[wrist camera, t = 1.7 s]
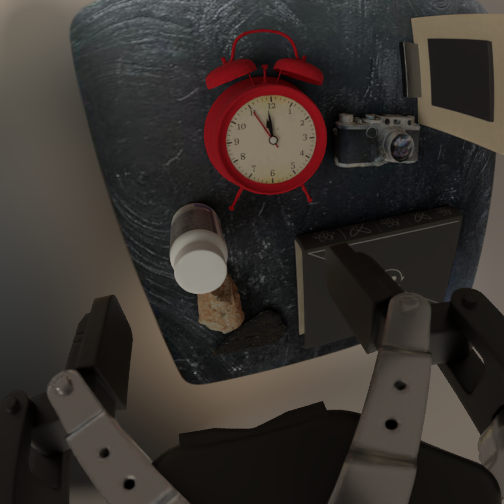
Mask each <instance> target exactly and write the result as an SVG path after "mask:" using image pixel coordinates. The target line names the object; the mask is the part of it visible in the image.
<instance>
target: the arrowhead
mask: <svg viewBox="0 0 504 504" xmlns="http://www.w3.org/2000/svg"><path fill="white" fill-rule="evenodd" d="M286 330H287V329H286V327H285V325H284V323H283V322H282V320H281V317H280V315H279V314H278V313H276V312H272V310H266V311H263V312H261V313H259V314H258V315H256V316H255V317H253V318H252V319H251V320H249V321H248V322H246V323H245V324H243V325H242V326H240V327H238V328H237V329H236V330H235V331H234V332H233V333H232V334H231V335H230V336H229V337H228V338H227V339H226V340H225V341H223V342H222V343H221V344H220V345H219V346H218V347H217V348H216V349H215V350H214V351H213V352H212V353H211V355H219V354H224V353H232V352H239V351H244V350H246V349H253V348H257V347H261V346H265V345H268V344H272V343H276V342H278V340H279V339H280V338H281V335H282V334H283V333H285V332H286Z"/></svg>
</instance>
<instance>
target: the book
mask: <svg viewBox="0 0 504 504" xmlns="http://www.w3.org/2000/svg"><path fill="white" fill-rule="evenodd" d="M462 219H463V215H462V214H461V213H460V212H459V211H458V210H457V209H456V208H454V207H452V206H444V207H439V208H434V209H429V210H424V211H419V212H414V213H409V214H404V215H399V216H394V217H389V218H384V219H379V220H374V221H368V222H363V223H358V224H353V225H349V226H344V227H339V228H334V229H329V230H324V231H319V232H314V233H309V234H304V235H299V236H295V239H294V243H295V260H296V278H297V298H298V321H299V334H300V335H301V334H305V348H306V349H309V348H313V347H317V346H320V345H324V344H327V343H331V342H334V341H338V340H341V339H344V338H348V337H351V336H354V335H355V334H354V332H353V331H352V329H351V328H350V326H349V324H348V323H347V321H346V320H345V318H344V316H343V315H342V313H341V312H340V310H339V309H338V307H337V306H336V304H335V302H334V301H333V299H332V298H331V296H330V294H329V292H328V289H327V284H326V259H325V250H326V247H327V246H331V245H335V244H339V243H343V242H346V243H347V244H348V245H349V246H350V247H351V248H352V249H353V250H354V251H355V252H356V253H357V252H363V253H365V254H367V255H369V256H371V257H372V258H373V259H374V260H375V261H376V262H377V263H378V264H379V266H381V267H382V268H383V269H384V270H385V272H387V273H388V274H389V275H390V276H391V278H392V279H393V280H394V281H395V282H396V283H397V284H398V285H399V286H400V287H401V288H402V289H403V290H404V292H410V293H416V294H419V295H421V296H423V297H424V298H426V299H427V300H428V301H429V303H430V304H432V303H443V300H444V296H445V293H446V289H447V285H448V282H449V278H450V274H451V270H452V266H453V262H454V258H455V253H456V249H457V244H458V240H459V235H460V230H461V224H462Z"/></svg>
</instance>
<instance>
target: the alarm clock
mask: <svg viewBox="0 0 504 504" xmlns="http://www.w3.org/2000/svg"><path fill="white" fill-rule="evenodd" d="M257 32H271V33H277V34H280V35H282V36H284V37H286V38H287V39H288V40H289V41H290V43H291V44H292V46H293V49H294V52H295V56H296V59H292V58H283V59H280V60H278V61H277V62H276V63H275V65H274V68H273V70H274V71H276V72H278V73H279V76H278V78H274V77H266V68H268V65H261V67H262V68H263V71H264V77H253V78H251V76H250V74H249V73H250V72H253V71H255V70H257V68H256V66H255V64H254V63H253V62H252V61H251V60H248V59H239V60H235V61H233V59H234V54H235V47H236V44H237V42H238V40H239V39H240V38H241V37H243V36H245V35H247V34H251V33H257ZM221 60H222V62H223V64H224V65H222V66H219V67H218V68H216V69H214V70H213V71H211V72H210V73H209V74H208V76H207V77H206V85H207V88H208V89H211V88H214V87H217V86H219V85H221V84H224V83H226V82H229V81H231V80H234V79H236V78H238V77H241V76H243V75H246V74H249V77H250V78H248V79H245V80H242V81H240V82H238V83H236V84H234V85H232V86H230V87H229V88H227V89H226V90H225V91H224V92H223V93H222V94H221V95H220V96H219V97H218V98H217V99H216V100H215V102H214V103H213V105H212V106H211V108H210V110H209V112H208V115H207V118H206V121H205V127H204V142H205V147H206V151H207V154H208V156H209V159H210V161H211V162H212V164H213V166H214V167H215V168H216V170H217V171H218V172H219V173H220V174H221V175H222V176H223V177H224V178H226V179H227V180H229V181H230V182H232V183H234V184H236V185H238V186H239V187H240V189H239V191H238V193H237V195H236V198H235V200H234V202H233V204H232V206H230V207H229V210H231V211H233V210H234V205H235V203H236V202H237V200H238V198H239V197H240V195H241V193H242V191H243V189H245V190H247V191H250V192H253V193H258V194H267V195H273V194H281V193H285V192H288V191H291V190H293V189H295V188H297V187H299V186H301V187H302V189H303V191H304V192H305V194H306V196H307V197H308V202H312V198H310V196H309V194H308V192H307V190H306V188H305V186H304V184H303V183H305V182H306V181H307V180H308V179H309V178H310V177H311V176H312V175H313V174H314V173H315V172H316V170H317V169H318V167H319V165H320V164H321V162H322V159H323V157H324V154H325V150H326V145H327V132H326V126H325V122H324V119H323V117H322V115H321V113H320V111H319V109H318V107H317V106H316V105H315V103H314V102H313V101H312V100H311V99H310V98H309V97H308V96H306V95H305V94H304V93H303V92H302V91H301V90H300V89H298V88H297V87H296V86H294V85H292V84H290V83H289V82H286V81H284V80H281V79H279V77H280V74H283V75H286V76H289V77H292V78H295V79H298V80H301V81H304V82H308V83H312V84H316V85H322V83H323V78H324V77H323V74H322V72H321V71H320V70H319V69H318V68H317V67H315V66H313V65H311V64H309V63H307V62H305V60H306V56H303V57H302V60H301V59H300V58H299V57H298V52H297V49H296V46H295V44H294V42H293V40H292V39H291V38H290V37H289V36H288V35H286V34H284V33H282V32H280V31H275V30H267V29H259V30H251V31H247V32H244V33H242V34H240V35H239V36H238V37H237V38H236V39H235V41H234V43H233V46H232V52H231V59H230V60H229V61H228V62H226V59H225V57H222V58H221Z"/></svg>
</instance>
